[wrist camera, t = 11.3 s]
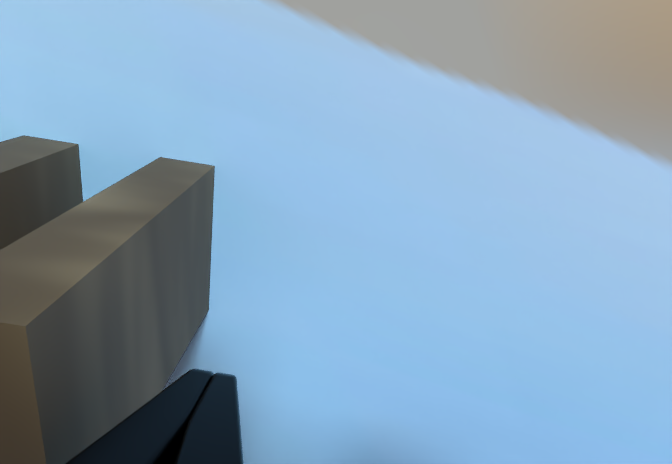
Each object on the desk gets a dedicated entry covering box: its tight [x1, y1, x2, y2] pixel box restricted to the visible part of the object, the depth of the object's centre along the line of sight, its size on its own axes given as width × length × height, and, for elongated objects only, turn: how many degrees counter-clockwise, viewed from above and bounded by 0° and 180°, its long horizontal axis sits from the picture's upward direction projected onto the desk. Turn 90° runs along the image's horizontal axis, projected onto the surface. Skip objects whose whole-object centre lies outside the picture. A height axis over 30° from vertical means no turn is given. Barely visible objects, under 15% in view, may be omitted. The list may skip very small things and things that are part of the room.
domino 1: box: [0, 157, 215, 464], centre depth 11 cm, size 2×5×8 cm, turn 172°
